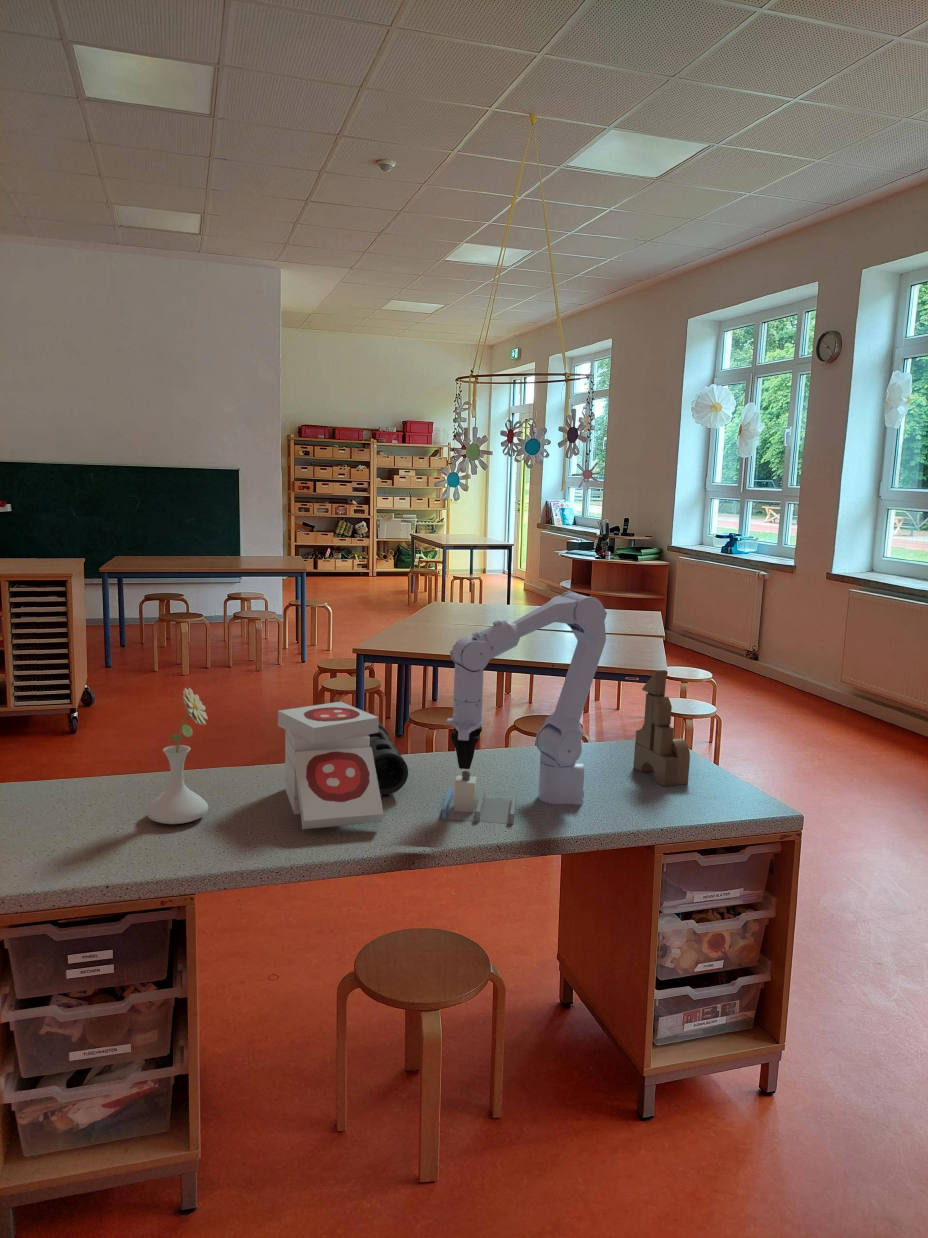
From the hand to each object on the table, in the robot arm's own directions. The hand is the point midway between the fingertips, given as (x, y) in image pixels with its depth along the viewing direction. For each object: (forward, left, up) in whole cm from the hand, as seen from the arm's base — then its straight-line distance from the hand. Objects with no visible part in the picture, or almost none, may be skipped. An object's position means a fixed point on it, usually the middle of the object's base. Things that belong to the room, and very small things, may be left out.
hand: (465, 765), depth 176 cm
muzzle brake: (+22, -18, -10) cm, 30 cm away
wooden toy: (-42, -33, -10) cm, 54 cm away
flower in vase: (+54, +12, -10) cm, 56 cm away
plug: (0, 0, -9) cm, 9 cm away
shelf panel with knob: (-3, 0, -10) cm, 10 cm away
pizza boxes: (+26, +2, -10) cm, 28 cm away
